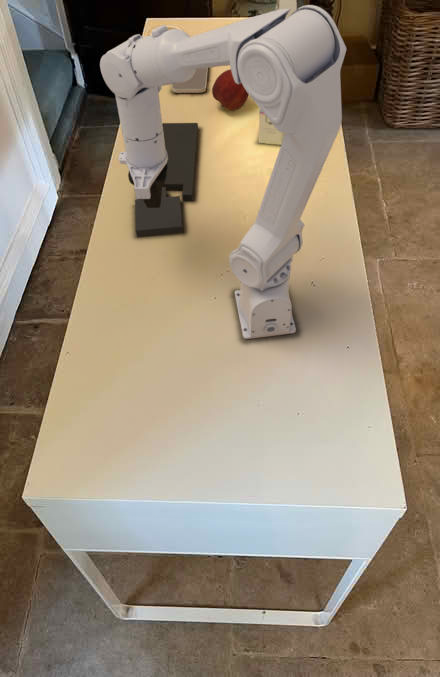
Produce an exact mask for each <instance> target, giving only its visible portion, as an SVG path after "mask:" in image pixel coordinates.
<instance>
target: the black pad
mask: <svg viewBox="0 0 440 677" xmlns="http://www.w3.org/2000/svg"><path fill="white" fill-rule="evenodd" d="M162 125H163V133H164V142H165V149H166V151H167V155H168V168H167V170H166V171H167V176H166V180H165V183H164V184H163V187H166V191H182V201H183V202H193V201H194V190H195V178H196V165H197V164H196V162H197V150H198V136H199V123H198V122H162Z"/></svg>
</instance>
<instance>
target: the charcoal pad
mask: <svg viewBox="0 0 440 677" xmlns="http://www.w3.org/2000/svg"><path fill="white" fill-rule="evenodd" d="M181 205H182V204H181V196H180V195H175V196H174V195H173V196H167V190H166V187H162V197H161V205H160V207H159V208H147V206H146V205H145V203H144V201H143V199H134V208H135V209H134V215H135V216H134V218H135V220H134V221H135V224H134V225H135V234H136V237H137V238H139V237H151V236H161V235H163V236H164V235H173V234H183V233H184V230H183V219H182V218H183V216H182V206H181Z"/></svg>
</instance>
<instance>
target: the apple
mask: <svg viewBox="0 0 440 677" xmlns="http://www.w3.org/2000/svg"><path fill="white" fill-rule="evenodd" d="M211 94H212V97H213V99H214V100H216V101H218V103H220V105H221V107H222V108H224V109H226V110H228V111H237V110H240V109H241V108H242V107H243V106H244V105H245V104H246V103H247V101H248V98H249V97H250V95H249V94H248V93H247V91H246V90H245V88H244V86H243V85H242V83H240V84H237V83H235V81H234V78H233V75H232V72H231V68H230V69H226V70H225V71H223V72H222V73H220V74H219V75H218V76H217V78H216V79H215V80H214V82H213V85H212V87H211Z"/></svg>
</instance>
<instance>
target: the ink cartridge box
mask: <svg viewBox="0 0 440 677" xmlns="http://www.w3.org/2000/svg"><path fill="white" fill-rule="evenodd" d="M258 110H259V111H258V115H259V116H258V143H259V144H268V145H279V146H281V144H282V141H283V138H284V135H285V133H283V132H279V131H278V130H277V129H276V128H275V126H274V125H273V124H272V123H271V121H270V120H269V119H268V118H267V116H266V115H265V114H264V113H263V111H262V110H261V109H260V108H259V107H258Z"/></svg>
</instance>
